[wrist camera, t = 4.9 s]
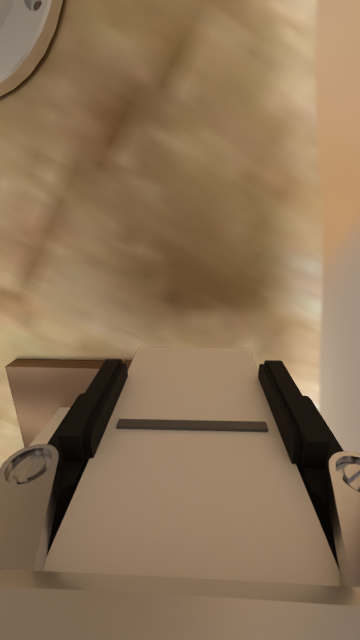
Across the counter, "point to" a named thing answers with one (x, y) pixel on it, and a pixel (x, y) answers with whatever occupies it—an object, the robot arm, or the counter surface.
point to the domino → (193, 481)
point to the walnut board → (47, 389)
